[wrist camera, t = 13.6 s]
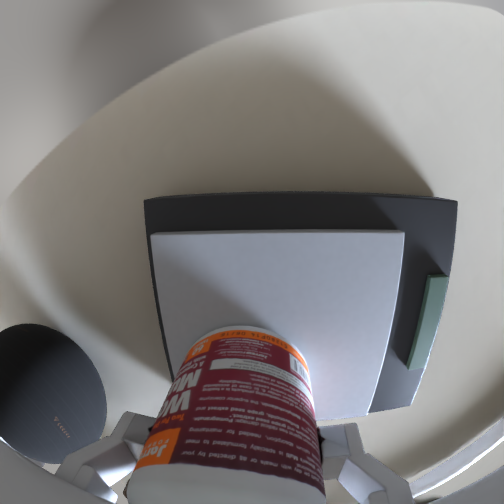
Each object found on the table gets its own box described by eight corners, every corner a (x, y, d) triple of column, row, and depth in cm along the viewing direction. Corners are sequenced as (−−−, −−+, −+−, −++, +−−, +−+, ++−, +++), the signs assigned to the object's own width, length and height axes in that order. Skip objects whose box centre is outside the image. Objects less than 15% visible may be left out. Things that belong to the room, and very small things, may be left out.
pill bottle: (191, 307, 12) (56, 550, 1) (324, 333, 12) (381, 592, 1) (183, 399, 14) (117, 572, 3) (289, 419, 14) (289, 601, 3)
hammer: (294, 504, 21) (295, 524, 18) (526, 367, 15) (540, 382, 12) (338, 520, 23) (339, 535, 20) (521, 412, 17) (531, 425, 14)
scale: (188, 393, 17) (178, 420, 14) (159, 196, 14) (136, 201, 11) (401, 387, 16) (413, 411, 13) (438, 197, 12) (465, 202, 10)
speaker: (150, 371, 17) (84, 485, 7) (104, 418, 19) (57, 495, 9) (47, 273, 16) (-57, 335, 6) (26, 345, 18) (-39, 402, 8)
